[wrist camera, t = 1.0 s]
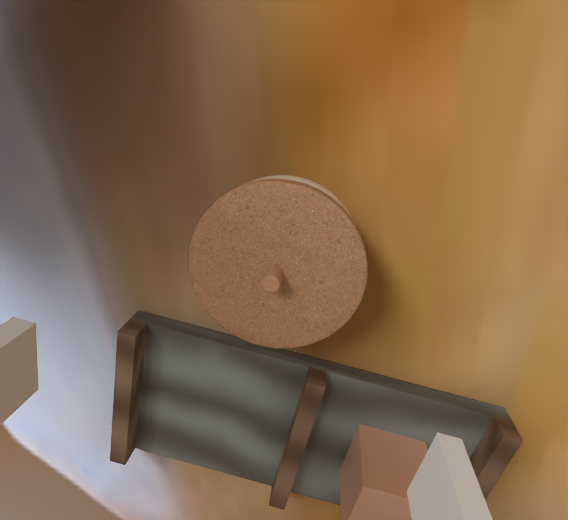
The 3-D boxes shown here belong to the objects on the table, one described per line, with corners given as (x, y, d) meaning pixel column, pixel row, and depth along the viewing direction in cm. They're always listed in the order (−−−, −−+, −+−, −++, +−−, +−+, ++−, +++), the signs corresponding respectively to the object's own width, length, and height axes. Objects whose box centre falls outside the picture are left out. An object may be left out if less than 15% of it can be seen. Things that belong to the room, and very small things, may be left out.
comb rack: (138, 310, 34) (117, 331, 31) (504, 407, 33) (522, 440, 29) (128, 432, 40) (110, 460, 36) (438, 518, 38) (448, 555, 35)
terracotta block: (358, 423, 33) (363, 486, 28) (425, 441, 33) (443, 508, 28) (340, 470, 36) (340, 536, 30) (402, 487, 35) (414, 557, 30)
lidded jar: (331, 312, 31) (329, 389, 23) (209, 270, 31) (161, 331, 23) (383, 190, 27) (405, 228, 19) (242, 142, 27) (199, 156, 19)
